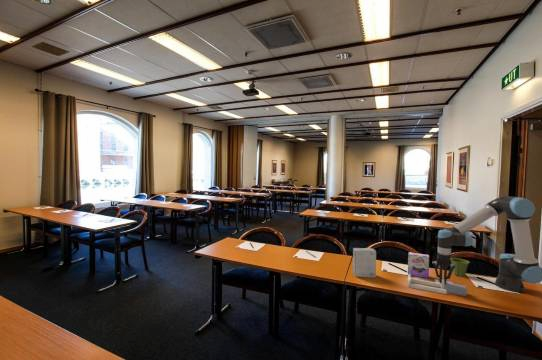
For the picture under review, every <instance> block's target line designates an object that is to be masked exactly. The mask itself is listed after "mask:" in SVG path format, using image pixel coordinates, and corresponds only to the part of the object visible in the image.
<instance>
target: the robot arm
mask: <svg viewBox="0 0 542 360" xmlns="http://www.w3.org/2000/svg"><path fill="white" fill-rule="evenodd" d="M535 212H536V207H535V205H534V203H533V202H532V201H531V200H529V199H528V198H525V197H524V198H523V197H518V196H511V195H510V196H509V195H504V196H503V195H502V196H499V197H496V198H495V199H493V200H491V201H489V202H488V203H485V204H484V206H483V207H481V209H479V210H477V211H476V212H474V213H473V214H471V215H470V216H468V217H466V218H465V219H463V220H462V221H459V223H457V224H455V225H453V226H451V227H450V228H444V229H440V230H438V233H437V254H436V260H435V261H432V265H433V266H434V271H435V275H436V278H439V279H438V280H439V282H440V283H441V288H440V289H444V284H446V281H448V280H450V279H451V276H452V274H453V269H454V268H455V265H453V264H452V261H451V258H452V255H451V254H452V246H458V247H459V246H460V247H470V246H472V245H473V243H474V242H473V240H474V239H473V237H472V235H470V234H466V233H468V232H470V231H471V230H473V229H475V228H476V227H478V226H480V225H481V224H483V223H484V222H487V220H490V219H491V218H493V217H497V216H499V215H501V214H505V216H506V219H507V220H508V221H509V223H510V229H511V234H512V240H513V247H514V252H515V254H514V253H500V254H499V258H498V259H499V263H498V264H499V265H498V275H497V276H496V279H495V281H494V284H495V286H497V288H500V289H503V290H506V291H510V292H515V293H524V292H525V291H526V287H525V283H524V282H527V283H530V284H539V283H542V267H541V266H540V262H539V259H537V258H536V257H535V253H534V246H533V240H532V234H531V229H530V220H531V219H532V216H533V215H534V213H535ZM437 265H438V266H439V272H438V267H437ZM449 267H450V268H449ZM448 268H449V270H448Z"/></svg>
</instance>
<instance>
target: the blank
mask: <svg viewBox="0 0 542 360" xmlns="http://www.w3.org/2000/svg"><path fill="white" fill-rule="evenodd" d="M444 289H445V290H447V291H446V294H447V293H448V294H453V295H458V296H465V297H467V295H468V294H467V293H468V292H467V291H468V290H467V289H468V288H467V286H466V285H463V284H462V285H461V284H457V283H453V284H452V283H446V284H444Z"/></svg>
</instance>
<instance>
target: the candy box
mask: <svg viewBox="0 0 542 360" xmlns="http://www.w3.org/2000/svg"><path fill="white" fill-rule="evenodd" d="M407 261H408V262H407V275H408V274H410V276H414V277H419V278H422V279H423V278H425V279H429V274H430V272H429V271H430V255H429V254H423V253H417V252H416V253H415V252H412V251H411V252H410V251H408V258H407Z"/></svg>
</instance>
